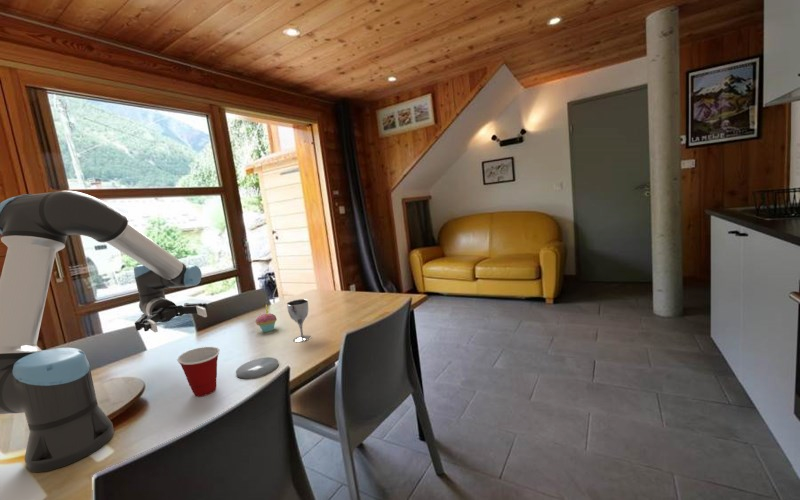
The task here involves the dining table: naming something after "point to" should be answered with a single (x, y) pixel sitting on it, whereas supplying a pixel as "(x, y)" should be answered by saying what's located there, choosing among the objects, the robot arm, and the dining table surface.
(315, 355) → the dining table surface
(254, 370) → the coaster
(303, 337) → the wine glass
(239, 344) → the dining table surface
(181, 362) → the plastic cup
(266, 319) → the cupcake
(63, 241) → the robot arm
